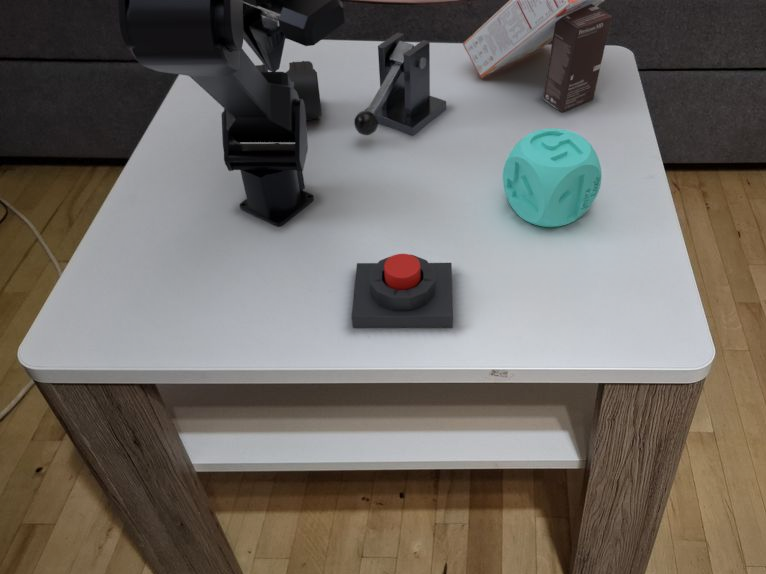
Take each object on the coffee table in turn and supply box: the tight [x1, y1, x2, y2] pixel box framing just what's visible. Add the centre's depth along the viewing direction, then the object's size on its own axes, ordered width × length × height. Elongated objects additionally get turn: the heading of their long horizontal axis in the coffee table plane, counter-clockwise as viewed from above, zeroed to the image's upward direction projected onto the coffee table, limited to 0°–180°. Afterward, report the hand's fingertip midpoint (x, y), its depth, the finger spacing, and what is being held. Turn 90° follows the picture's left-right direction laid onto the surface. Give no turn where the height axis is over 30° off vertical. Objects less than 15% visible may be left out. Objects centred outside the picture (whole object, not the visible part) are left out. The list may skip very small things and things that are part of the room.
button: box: [384, 253, 421, 290], centre depth 75 cm, size 4×4×2 cm
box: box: [542, 4, 613, 113], centre depth 99 cm, size 6×4×12 cm
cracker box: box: [462, 0, 605, 79], centre depth 102 cm, size 14×6×21 cm
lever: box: [353, 41, 415, 136], centre depth 96 cm, size 13×3×3 cm, turn 145°
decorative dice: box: [502, 128, 602, 228], centre depth 85 cm, size 8×8×8 cm
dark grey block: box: [255, 60, 323, 121], centre depth 100 cm, size 10×7×7 cm
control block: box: [351, 254, 454, 329], centre depth 77 cm, size 10×8×4 cm
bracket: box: [363, 32, 447, 137], centre depth 99 cm, size 8×8×10 cm
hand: (274, 69), depth 87 cm, fingers closed
